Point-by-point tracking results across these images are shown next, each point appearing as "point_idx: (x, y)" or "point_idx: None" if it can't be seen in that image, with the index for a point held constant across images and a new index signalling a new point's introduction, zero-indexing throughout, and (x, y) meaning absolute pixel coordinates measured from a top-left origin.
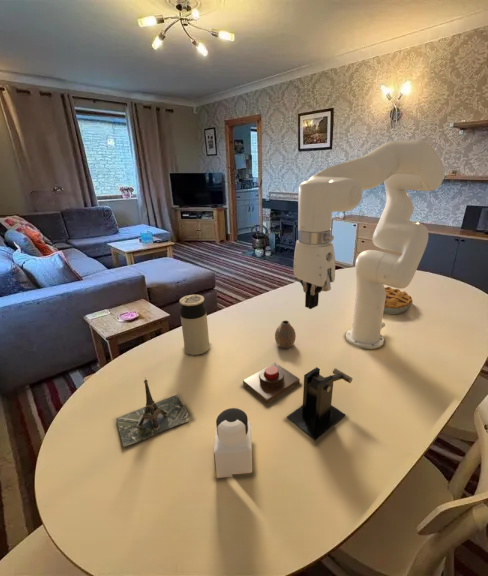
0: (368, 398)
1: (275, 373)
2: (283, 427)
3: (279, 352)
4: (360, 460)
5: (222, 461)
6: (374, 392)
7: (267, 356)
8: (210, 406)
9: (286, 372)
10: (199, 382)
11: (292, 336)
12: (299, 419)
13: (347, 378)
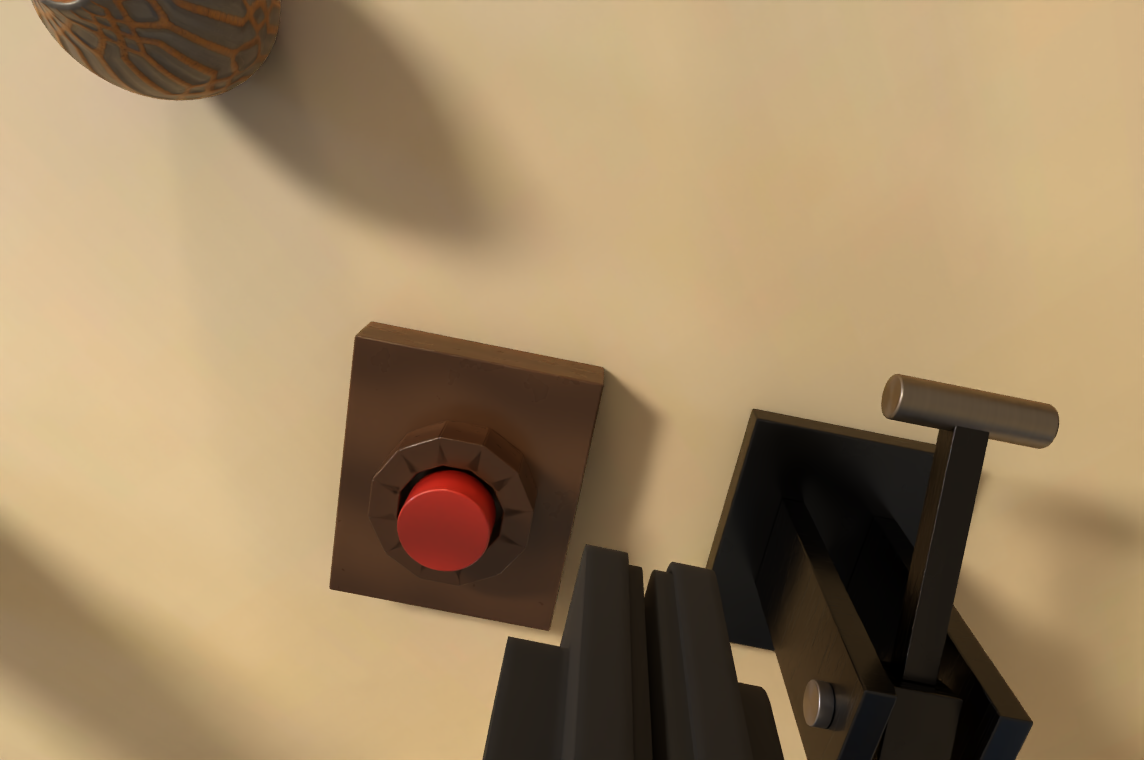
0: (1054, 212)
1: (488, 542)
2: None
3: (257, 131)
4: (1090, 621)
5: None
6: (1084, 125)
7: (228, 235)
8: (331, 735)
9: (492, 383)
10: (140, 659)
11: (244, 1)
12: (758, 616)
13: (1026, 444)
